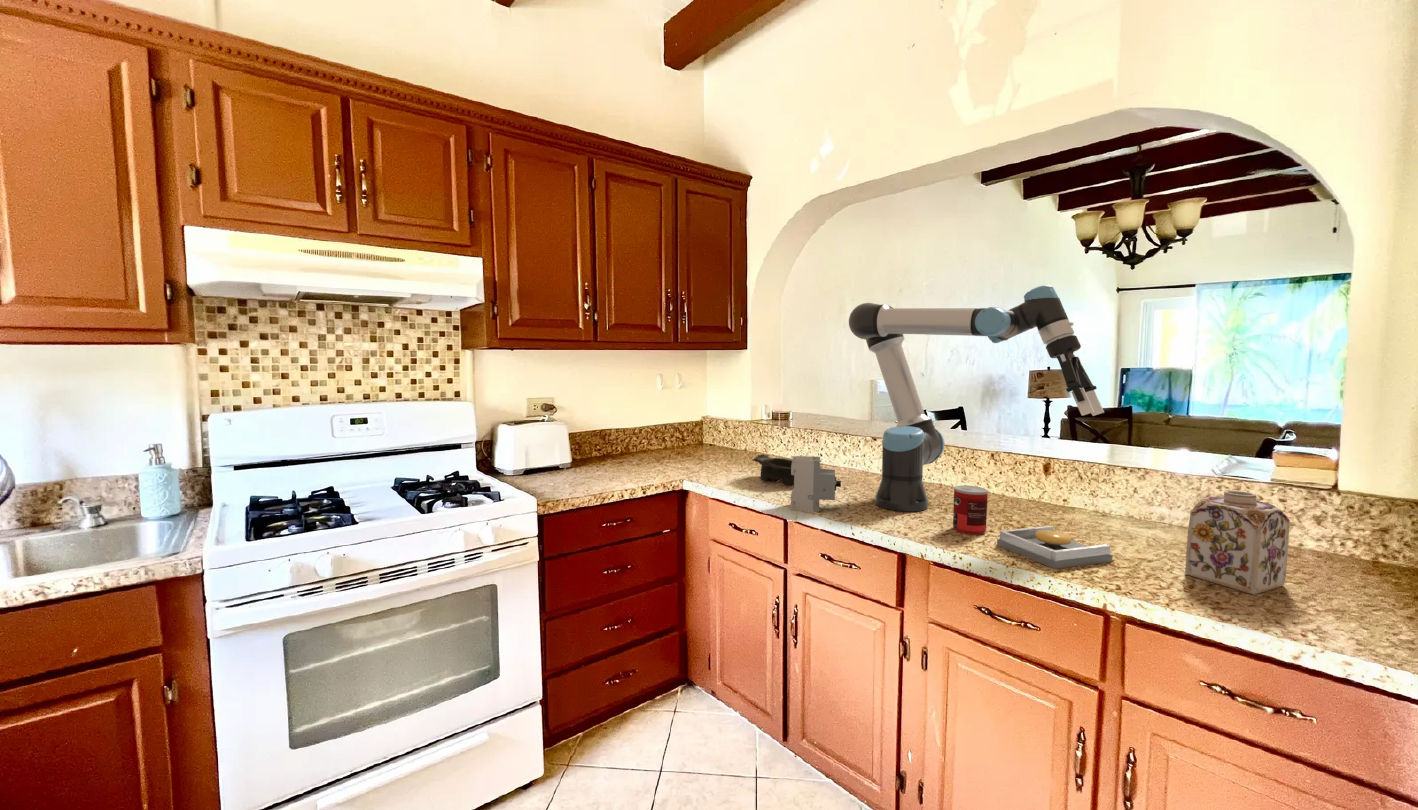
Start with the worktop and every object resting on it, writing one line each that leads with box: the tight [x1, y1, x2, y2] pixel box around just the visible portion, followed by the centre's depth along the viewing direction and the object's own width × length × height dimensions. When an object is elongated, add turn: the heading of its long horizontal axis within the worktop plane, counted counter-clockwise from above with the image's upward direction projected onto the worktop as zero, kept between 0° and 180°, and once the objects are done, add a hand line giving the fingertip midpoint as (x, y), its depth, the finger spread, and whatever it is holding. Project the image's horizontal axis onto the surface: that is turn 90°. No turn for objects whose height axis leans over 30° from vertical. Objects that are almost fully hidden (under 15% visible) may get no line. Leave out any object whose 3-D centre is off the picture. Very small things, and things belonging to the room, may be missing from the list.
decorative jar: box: [1184, 490, 1291, 595], centre depth 114 cm, size 12×12×18 cm
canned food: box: [952, 484, 989, 536], centre depth 147 cm, size 8×8×11 cm
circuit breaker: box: [790, 455, 842, 513], centre depth 168 cm, size 8×14×15 cm, turn 78°
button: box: [1035, 530, 1072, 547], centre depth 130 cm, size 7×7×2 cm
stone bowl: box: [751, 454, 823, 487], centre depth 206 cm, size 25×25×9 cm
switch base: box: [996, 525, 1113, 570], centre depth 130 cm, size 16×16×4 cm
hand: (1093, 414), depth 147 cm, fingers open, 13 cm apart
